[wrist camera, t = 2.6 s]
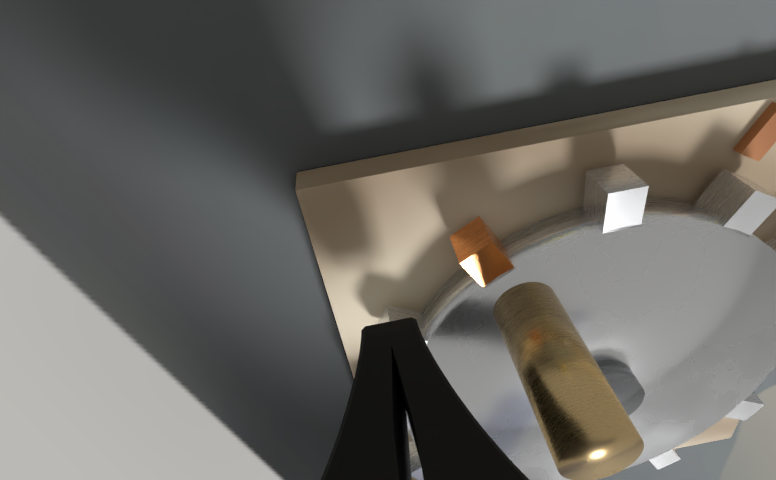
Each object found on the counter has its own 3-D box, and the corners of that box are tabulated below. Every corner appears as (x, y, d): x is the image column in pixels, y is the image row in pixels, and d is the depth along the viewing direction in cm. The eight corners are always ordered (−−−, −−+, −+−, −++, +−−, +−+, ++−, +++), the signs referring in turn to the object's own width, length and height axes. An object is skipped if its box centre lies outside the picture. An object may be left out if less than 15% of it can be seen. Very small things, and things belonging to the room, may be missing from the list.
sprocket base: (716, 418, 23) (735, 443, 22) (390, 482, 23) (393, 510, 22) (873, 60, 13) (921, 74, 12) (296, 171, 13) (294, 196, 12)
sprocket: (835, 352, 19) (1004, 500, 14) (505, 507, 23) (552, 660, 18) (738, 35, 11) (1046, 136, 6) (269, 361, 15) (247, 562, 11)
